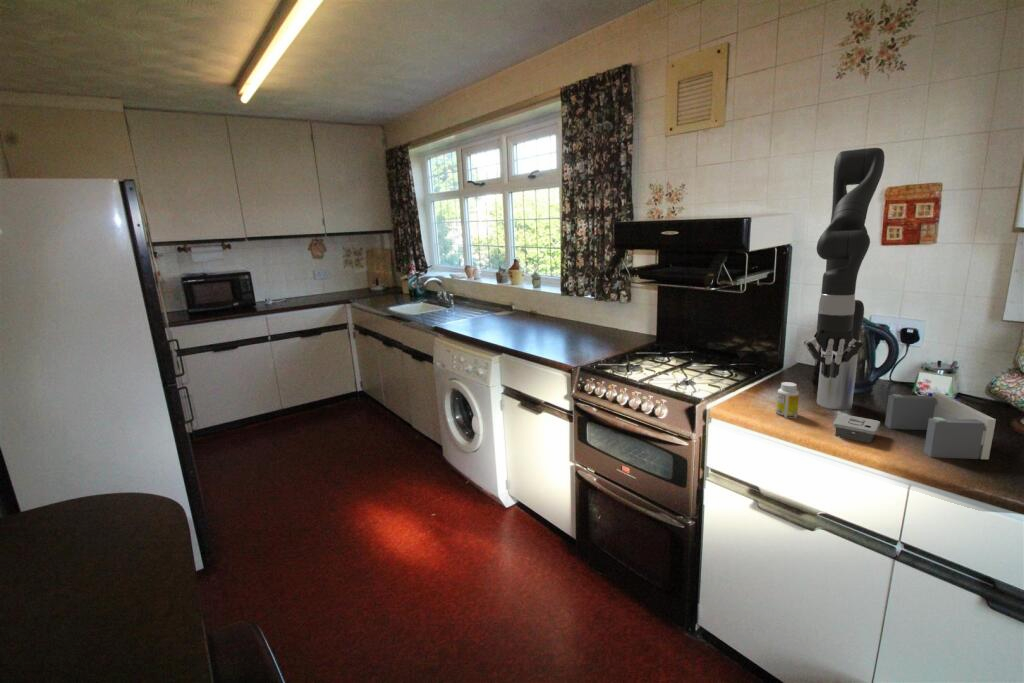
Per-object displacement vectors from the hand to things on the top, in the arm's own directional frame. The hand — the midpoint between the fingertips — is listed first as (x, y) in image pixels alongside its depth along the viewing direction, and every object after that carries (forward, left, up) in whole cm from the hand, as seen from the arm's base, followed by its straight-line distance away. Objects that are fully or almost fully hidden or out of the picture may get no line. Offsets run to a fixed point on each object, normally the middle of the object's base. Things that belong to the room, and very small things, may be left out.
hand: (829, 377), depth 124 cm
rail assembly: (0, +25, -17) cm, 30 cm away
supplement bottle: (-15, -4, -17) cm, 23 cm away
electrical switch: (0, +12, -17) cm, 21 cm away
